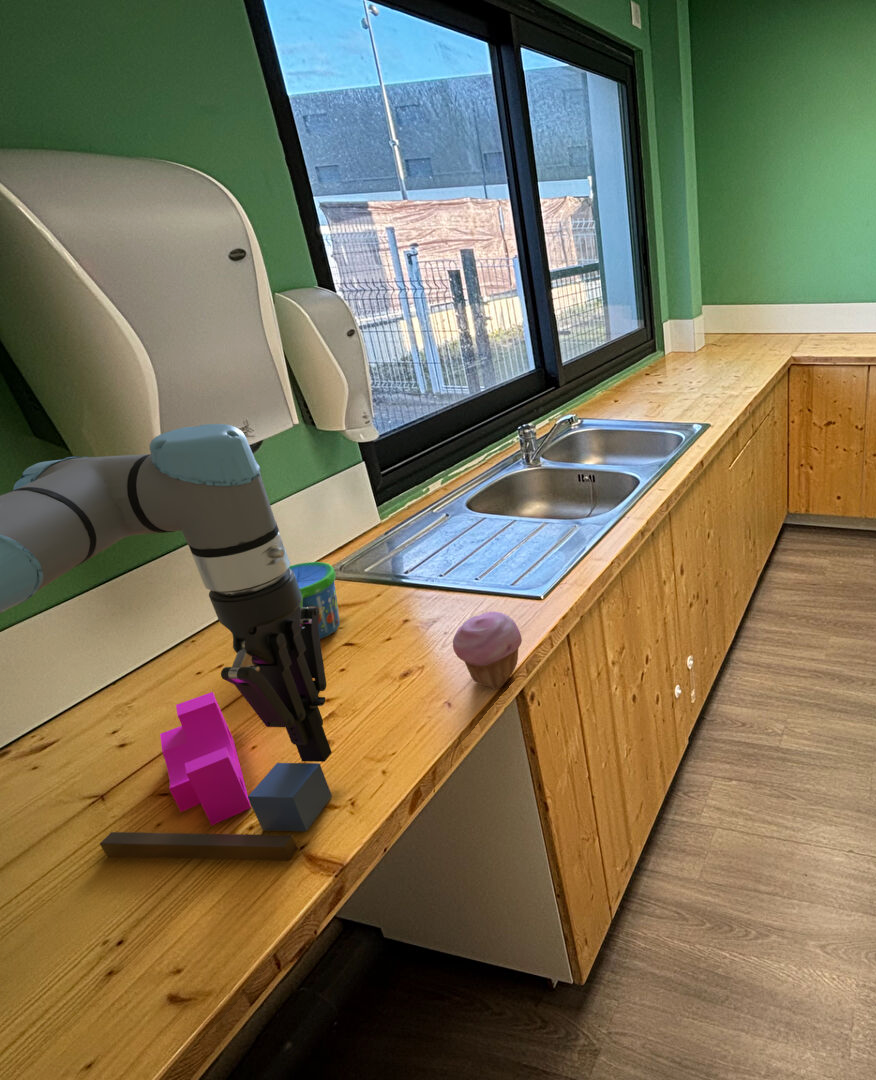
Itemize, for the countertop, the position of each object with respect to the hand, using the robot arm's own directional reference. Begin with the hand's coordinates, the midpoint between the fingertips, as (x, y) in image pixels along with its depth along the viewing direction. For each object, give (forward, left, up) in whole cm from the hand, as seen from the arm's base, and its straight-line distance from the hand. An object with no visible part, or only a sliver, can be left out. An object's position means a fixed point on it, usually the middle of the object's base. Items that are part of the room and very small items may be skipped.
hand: (317, 756), depth 81 cm
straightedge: (-7, -11, -3) cm, 13 cm away
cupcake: (+14, +19, -3) cm, 24 cm away
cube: (0, -5, -3) cm, 6 cm away
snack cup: (-20, +31, -3) cm, 37 cm away
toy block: (-13, -1, -3) cm, 14 cm away
